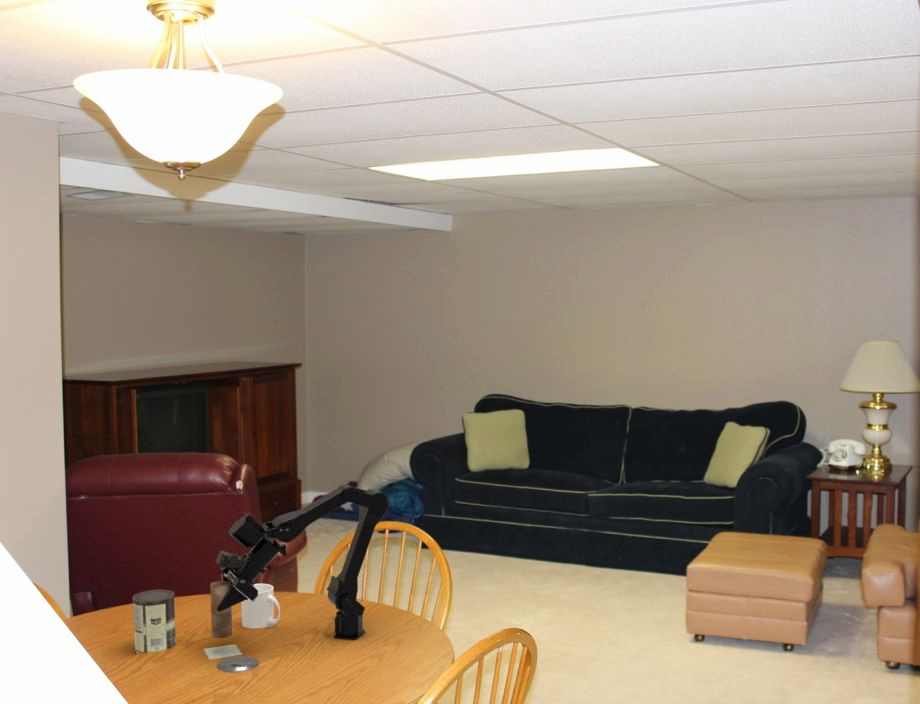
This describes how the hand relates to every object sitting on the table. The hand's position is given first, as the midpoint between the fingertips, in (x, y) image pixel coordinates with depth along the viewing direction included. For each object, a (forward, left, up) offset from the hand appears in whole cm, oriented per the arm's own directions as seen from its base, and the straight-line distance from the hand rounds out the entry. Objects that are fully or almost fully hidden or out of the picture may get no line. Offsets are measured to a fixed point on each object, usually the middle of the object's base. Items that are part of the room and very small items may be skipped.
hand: (215, 607), depth 252 cm
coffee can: (+18, 0, -13) cm, 22 cm away
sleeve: (-1, -1, -7) cm, 7 cm away
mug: (-1, -22, -13) cm, 26 cm away
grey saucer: (-9, +6, -12) cm, 16 cm away
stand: (-1, -1, -12) cm, 13 cm away
